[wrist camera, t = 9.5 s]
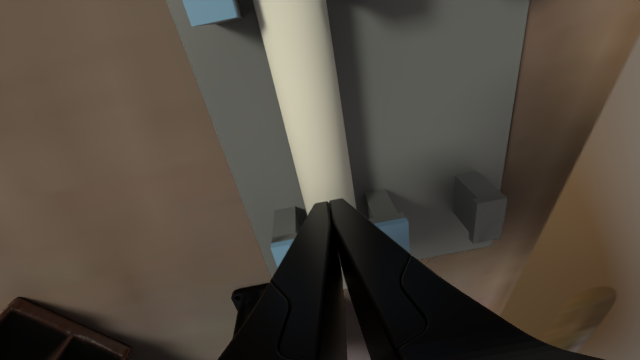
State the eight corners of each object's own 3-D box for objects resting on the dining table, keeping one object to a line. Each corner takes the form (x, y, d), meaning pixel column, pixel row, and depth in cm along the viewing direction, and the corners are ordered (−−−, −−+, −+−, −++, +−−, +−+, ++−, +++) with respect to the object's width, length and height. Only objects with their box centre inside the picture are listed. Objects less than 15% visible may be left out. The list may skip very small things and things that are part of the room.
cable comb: (275, 278, 23) (271, 329, 20) (107, -173, 11) (8, -273, 7) (485, 238, 23) (524, 283, 19) (556, -275, 11) (703, -438, 7)
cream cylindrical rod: (361, 251, 22) (371, 284, 19) (319, 259, 22) (322, 292, 19) (302, -154, 11) (304, -206, 8) (220, -136, 11) (198, -182, 9)
